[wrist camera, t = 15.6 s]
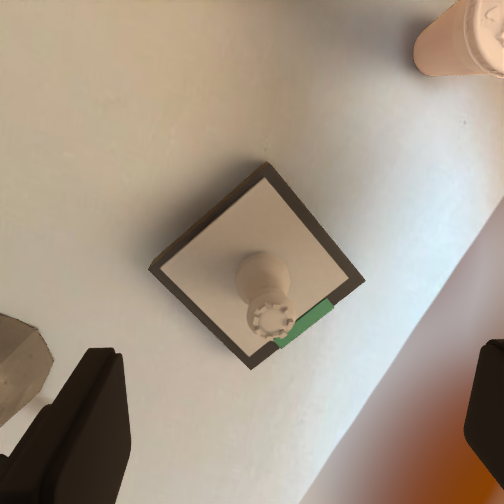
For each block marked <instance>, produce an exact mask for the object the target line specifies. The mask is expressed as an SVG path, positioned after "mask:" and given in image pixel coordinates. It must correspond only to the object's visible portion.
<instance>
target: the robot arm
mask: <svg viewBox="0 0 504 504" xmlns="http://www.w3.org/2000/svg"><path fill="white" fill-rule="evenodd" d="M464 436H465V439H466V441H467V443H468V444H469V446H470V447H471V448H472V450H473V451H474V452H475V453H476V455H477V456H478V457H479V459H480V460H481V461H482V462H483V464H484V465H485V466H486V468H487V469H488V470H489V472H490V473H491V474H492V475H493V477H494V478H495V479H496V481H497V482H498V483H499V484H500V486H501V487H502V488H503V489H504V339H492V340H489V341H488V342H487V343H486V345H484V346H483V347H482V348H481V350H480V354H479V359H478V364H477V368H476V373H475V378H474V382H473V387H472V391H471V397H470V401H469V406H468V410H467V415H466V419H465V424H464ZM130 451H131V434H130V424H129V414H128V404H127V394H126V385H125V375H124V365H123V357H122V354H121V353H115V350H114V348H89V349H88V350H87V351H86V353H85V354H84V356H83V357H82V359H81V360H80V362H79V363H78V365H77V366H76V368H75V369H74V371H73V373H72V374H71V376H70V377H69V379H68V380H67V382H66V383H65V385H64V386H63V388H62V389H61V391H60V392H59V394H58V395H57V397H56V399H55V400H54V402H53V403H52V404H48V405H46V406H44V407H43V408H42V409H41V410H40V412H39V413H38V415H37V416H36V418H35V419H34V421H33V422H32V423H31V425H30V426H29V428H28V429H27V431H26V432H25V434H24V435H23V437H22V438H21V440H20V441H19V443H18V444H17V446H16V447H15V448H14V450H13V451H12V453H11V454H10V456H9V457H8V459H7V460H6V462H5V463H4V465H3V466H2V468H1V469H0V504H115V502H116V499H117V495H118V492H119V489H120V486H121V482H122V479H123V476H124V473H125V469H126V466H127V463H128V459H129V456H130Z"/></svg>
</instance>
